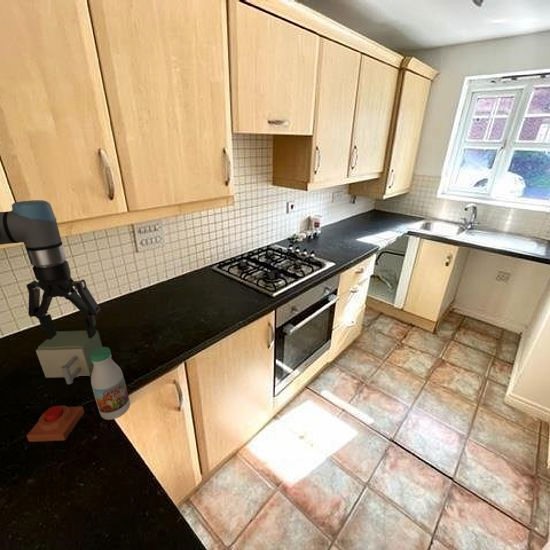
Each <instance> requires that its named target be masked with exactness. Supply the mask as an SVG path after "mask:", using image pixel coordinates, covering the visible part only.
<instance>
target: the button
mask: <svg viewBox="0 0 550 550" xmlns="http://www.w3.org/2000/svg"><path fill="white" fill-rule="evenodd" d="M59 406H60V405H55V406H51V407H49V408H48V409H46V411H44V412H43V413H44V416H45V419H46V421H48V422H52V421H54V420H57V419H58V418H59V417H61V416H62V410H61V407H59Z"/></svg>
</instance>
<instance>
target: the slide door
mask: <svg viewBox="0 0 550 550" xmlns="http://www.w3.org/2000/svg"><path fill="white" fill-rule="evenodd" d="M35 353H36V356H37V358H38V361H39V364H40V366H41V369H42V371H43V374H44V377H45V379H51V378H50V377H59V378H64V380H65V383H66V384H67V385H71V384H73V383H74V380H75V378H80V377H79V376H89V377H91V376H90V375H91V373H90V369H89V366H88V363H87V359H86V356H85V353H84V349H83V348H62V349H38V348H37V349H36V350H35Z"/></svg>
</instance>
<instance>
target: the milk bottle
mask: <svg viewBox="0 0 550 550" xmlns="http://www.w3.org/2000/svg"><path fill="white" fill-rule="evenodd" d="M90 357H91V360H92V363H93V364H94V366H93V371H92V375H91V376H90V383H91V388H92V392H93V395H94V399H95V402H96V406H97V409H98V413H99V415H100V417H101V418H102V419H104V420H109V421H111V420H116V419H119V418H121V417H122V416H123V415H125V414H126V413H127V412H128V410H129V409H130V407H131V401H130V396H129V393H128V389H127V384H126V380H125V377H124V374H123V371H122V369H121V367H120V366H119V365H118V364H117V363H116V362H115V361H114V360H113V358H112V352H111V349H110V348H109V347H108V346H102V347H100V348H97V349H95V350H93V351H92V352H91V354H90Z"/></svg>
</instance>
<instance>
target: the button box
mask: <svg viewBox="0 0 550 550" xmlns="http://www.w3.org/2000/svg"><path fill="white" fill-rule="evenodd" d="M58 406H59V407H61V410H62V416H61V417H59V418H58V419H57V420H54V421H52V422H48V421H46V419H45V416H44V413H45V412H43V413H42V414H41V416H40V417H38V421H37V422H36V423H35V425H34V426H33V427H32V428H31V429H30V431H28V433H27V434H26V438H27V441H28V442H29V443H31V442H33V443H34V442H35V443H36V442H55V441H56V442H57V441H66V440H67V438H68V437H69V436H70V434H71V432H72V431H73V430H74V428H75V427H76V425H77V424H78V423H79V421H80V420H81V419H82V417H83V415H84V414H85V410H84V407H83V406H66V405H58Z"/></svg>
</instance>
